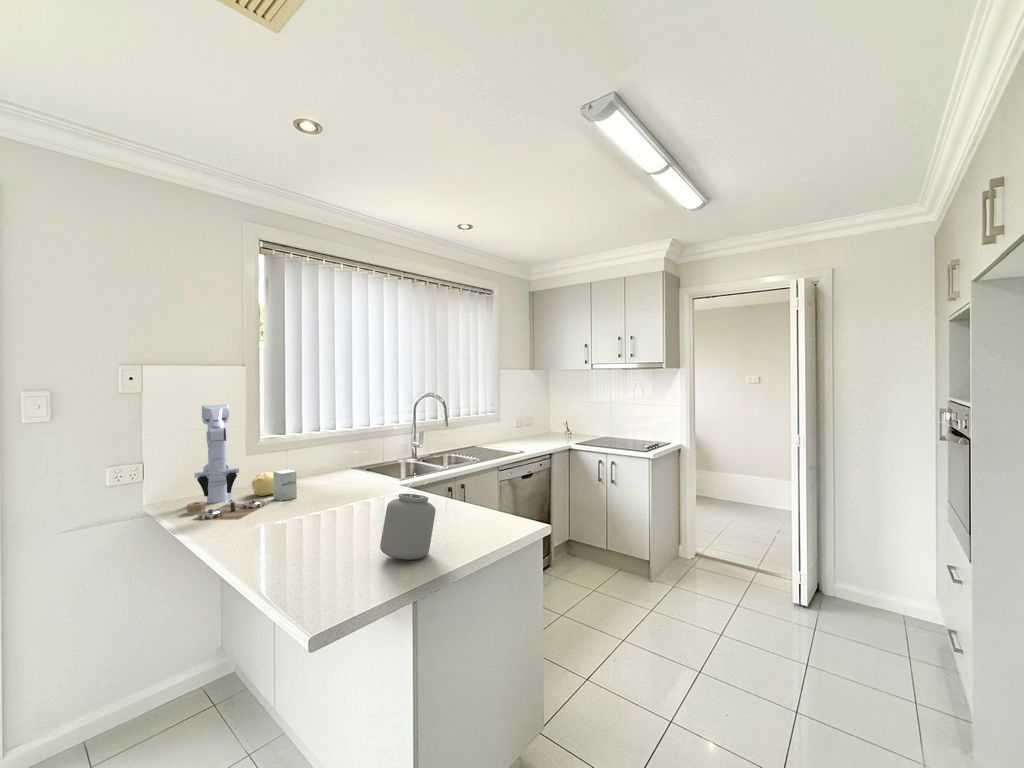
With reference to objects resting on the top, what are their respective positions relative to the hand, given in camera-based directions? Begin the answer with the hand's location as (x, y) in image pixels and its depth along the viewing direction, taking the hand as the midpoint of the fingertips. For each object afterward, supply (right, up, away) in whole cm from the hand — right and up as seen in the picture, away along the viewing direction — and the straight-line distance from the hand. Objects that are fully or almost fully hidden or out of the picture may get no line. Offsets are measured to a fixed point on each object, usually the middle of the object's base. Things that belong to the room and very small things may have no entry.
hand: (217, 494), depth 171 cm
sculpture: (-3, -10, +40) cm, 41 cm away
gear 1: (-4, -9, +1) cm, 10 cm away
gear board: (+1, -10, +8) cm, 13 cm away
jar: (+83, -10, -36) cm, 91 cm away
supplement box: (+10, -10, +32) cm, 35 cm away
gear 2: (+5, -9, +14) cm, 18 cm away
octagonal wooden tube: (-13, -10, +7) cm, 18 cm away
